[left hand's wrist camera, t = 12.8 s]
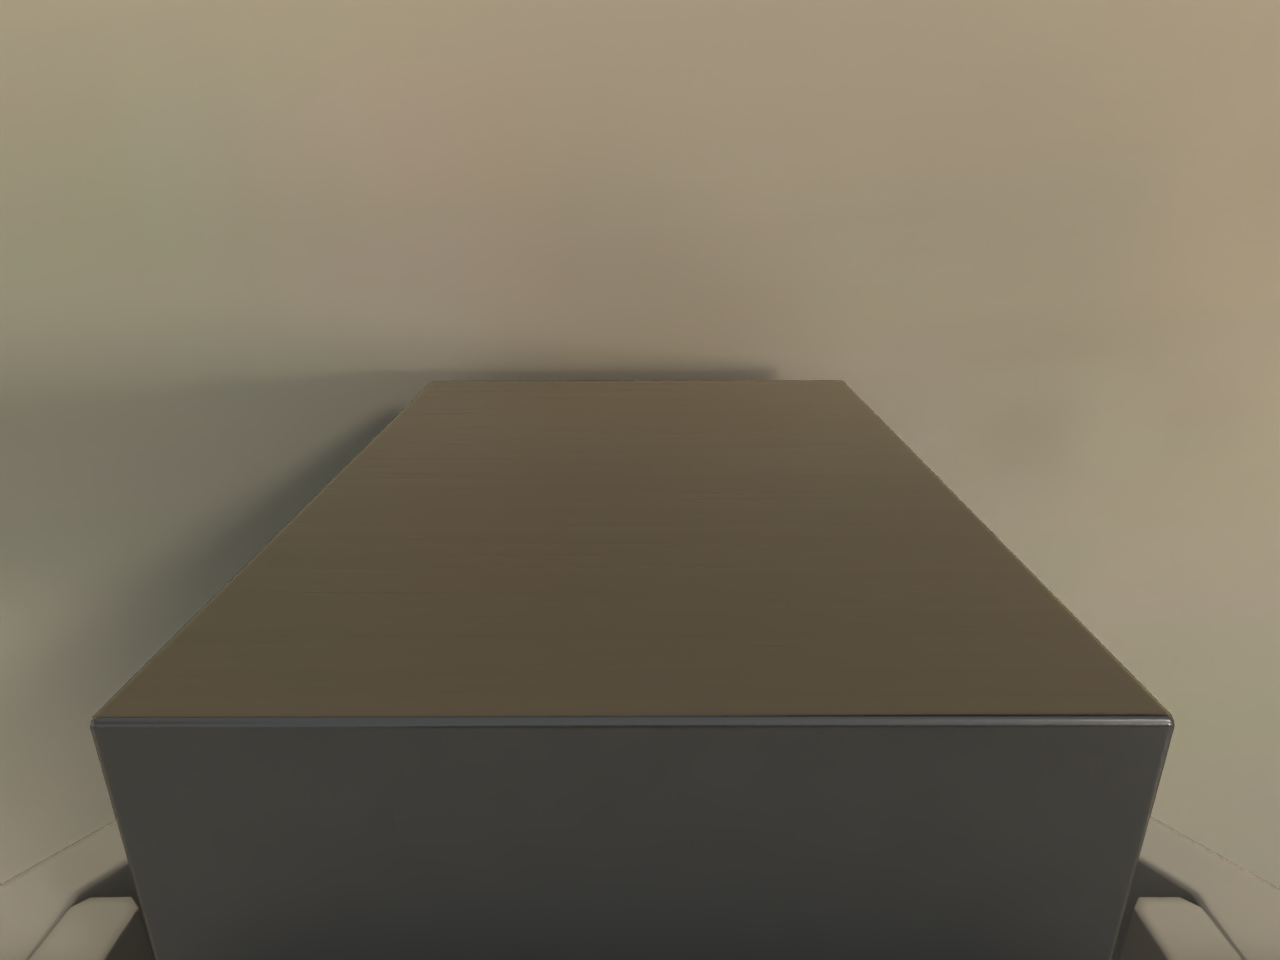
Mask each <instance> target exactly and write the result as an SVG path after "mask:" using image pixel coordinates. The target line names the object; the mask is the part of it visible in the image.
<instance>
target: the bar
mask: <svg viewBox="0 0 1280 960" xmlns="http://www.w3.org/2000/svg"><path fill="white" fill-rule="evenodd" d="M90 729H91V732H92V736H93V739H94V743H95V746H96V750H97V753H98V757H99V761H100V764H101V768H102V771H103V775H104V778H105V782H106V785H107V789H108V793H109V796H110V800H111V803H112V807H113V810H114V814H115V817H116V821H117V825H118V828H119V832H120V835H121V839H122V842H123V846H124V849H125V853H126V857H127V860H128V864H129V867H130V871H131V874H132V878H133V881H134V885H135V889H136V892H137V896H138V899H139V903H140V906H141V910H142V913H143V917H144V920H145V924H146V928H147V931H148V935H149V938H150V942H151V945H152V949H153V952H154V956H155V960H1112V957H1113V953H1114V949H1115V946H1116V942H1117V938H1118V934H1119V931H1120V927H1121V923H1122V920H1123V916H1124V912H1125V908H1126V905H1127V901H1128V897H1129V893H1130V890H1131V886H1132V882H1133V879H1134V875H1135V871H1136V867H1137V864H1138V860H1139V856H1140V852H1141V849H1142V845H1143V841H1144V838H1145V834H1146V830H1147V826H1148V823H1149V819H1150V815H1151V812H1152V808H1153V804H1154V800H1155V797H1156V793H1157V789H1158V785H1159V782H1160V778H1161V774H1162V771H1163V767H1164V763H1165V759H1166V756H1167V752H1168V748H1169V744H1170V741H1171V737H1172V733H1173V730H1174V720H1173V717H1172V715H1171V714H1170V713H1169V712H1168V711H1167V710H1166V709H1165V708H1164V707H1163V706H1162V705H1161V704H1160V703H1159V702H1158V701H1157V700H1156V698H1155V697H1154V696H1153V695H1152V694H1151V693H1150V692H1149V691H1148V690H1147V689H1146V688H1145V687H1144V686H1143V685H1142V684H1141V683H1140V682H1139V681H1138V680H1137V679H1136V678H1135V677H1134V676H1133V675H1132V674H1131V673H1130V672H1129V671H1128V670H1127V669H1126V668H1125V667H1124V666H1123V665H1122V664H1121V663H1120V662H1119V661H1118V660H1117V659H1116V658H1115V657H1114V656H1113V655H1112V654H1111V653H1110V652H1109V651H1108V650H1107V649H1106V648H1105V647H1104V646H1103V645H1102V644H1101V643H1100V642H1099V641H1098V639H1097V638H1096V637H1095V636H1094V635H1093V634H1092V633H1091V632H1090V631H1089V630H1088V629H1087V628H1086V627H1085V626H1084V625H1083V624H1082V623H1081V622H1080V621H1079V620H1078V619H1077V618H1076V617H1075V616H1074V615H1073V614H1072V613H1071V612H1070V611H1069V610H1068V609H1067V608H1066V607H1065V606H1064V605H1063V604H1062V603H1061V602H1060V601H1059V600H1058V599H1057V598H1056V597H1055V596H1054V595H1053V594H1052V593H1051V592H1050V591H1049V590H1048V589H1047V588H1046V587H1045V586H1044V585H1043V584H1042V583H1041V582H1040V580H1039V579H1038V578H1037V577H1036V576H1035V575H1034V574H1033V573H1032V572H1031V571H1030V570H1029V569H1028V568H1027V567H1026V566H1025V565H1024V564H1023V563H1022V562H1021V561H1020V560H1019V559H1018V558H1017V557H1016V556H1015V555H1014V554H1013V553H1012V552H1011V551H1010V550H1009V549H1008V548H1007V547H1006V546H1005V545H1004V544H1003V543H1002V542H1001V541H1000V540H999V539H998V538H997V537H996V536H995V535H994V534H993V533H992V532H991V531H990V530H989V529H988V528H987V527H986V526H985V525H984V524H983V523H982V521H981V520H980V519H979V518H978V517H977V516H976V515H975V514H974V513H973V512H972V511H971V510H970V509H969V508H968V507H967V506H966V505H965V504H964V503H963V502H962V501H961V500H960V499H959V498H958V497H957V496H956V495H955V494H954V493H953V492H952V491H951V490H950V489H949V488H948V487H947V486H946V485H945V484H944V483H943V482H942V481H941V480H940V479H939V478H938V477H937V476H936V475H935V474H934V473H933V472H932V471H931V470H930V469H929V468H928V467H927V466H926V465H925V464H924V462H923V461H922V460H921V459H920V458H919V457H918V456H917V455H916V454H915V453H914V452H913V451H912V450H911V449H910V448H909V447H908V446H907V445H906V444H905V443H904V442H903V441H902V440H901V439H900V438H899V437H898V436H897V435H896V434H895V433H894V432H893V431H892V430H891V429H890V428H889V427H888V426H887V425H886V424H885V423H884V422H883V421H882V420H881V419H880V418H879V417H878V416H877V415H876V414H875V413H874V412H873V411H872V410H871V409H870V408H869V407H868V406H867V405H866V404H865V402H864V401H863V400H862V399H861V398H860V397H859V396H858V395H857V394H856V393H855V392H854V391H853V390H852V389H851V388H850V387H849V386H848V385H847V384H846V383H845V382H844V381H841V380H776V381H433V382H430V383H429V384H428V385H427V386H426V387H425V388H424V389H423V390H422V391H421V392H420V393H419V394H418V395H417V396H416V397H415V398H414V399H413V400H412V401H411V402H410V403H409V404H408V405H407V406H406V407H405V408H404V409H403V410H402V411H401V412H400V413H399V414H398V415H397V416H396V417H395V418H394V419H393V420H392V421H391V422H390V423H389V424H388V425H387V426H386V427H385V428H384V429H383V430H382V431H381V432H380V433H379V434H378V435H377V436H376V437H375V438H374V439H373V440H372V441H371V442H370V443H369V444H368V445H367V446H366V447H365V448H364V449H363V450H362V451H361V452H360V453H359V454H358V455H357V456H356V457H355V458H354V459H353V460H352V461H351V462H350V463H349V464H348V465H347V466H346V467H345V468H344V469H343V470H342V471H340V472H339V473H338V474H337V475H336V476H335V477H334V478H333V479H332V480H331V481H330V482H329V483H328V484H327V485H326V486H325V487H324V488H323V489H322V490H321V491H320V492H319V493H318V494H317V495H316V496H315V497H314V498H313V499H312V500H311V501H310V502H309V503H308V504H307V505H306V506H305V507H304V508H303V509H302V510H301V511H300V512H299V513H298V514H297V515H296V516H295V517H294V518H293V519H292V520H291V521H290V522H289V523H288V524H287V525H286V526H285V527H284V528H283V529H282V530H281V531H280V532H279V533H278V534H277V535H276V536H275V537H274V538H273V539H272V540H271V541H270V542H269V543H268V544H267V545H266V546H265V547H264V548H263V549H262V550H261V551H260V552H259V553H258V554H257V555H256V556H255V557H254V558H253V559H252V560H251V561H250V562H249V563H248V564H247V565H246V566H245V567H244V568H243V569H242V570H240V571H239V572H238V573H237V574H236V575H235V576H234V577H233V578H232V579H231V580H230V581H229V582H228V583H227V584H226V585H225V586H224V587H223V588H222V589H221V590H220V591H219V592H218V593H217V594H216V595H215V596H214V597H213V598H212V599H211V600H210V601H209V602H208V603H207V604H206V605H205V606H204V607H203V608H202V609H201V610H200V611H199V612H198V613H197V614H196V615H195V616H194V617H193V618H192V619H191V620H190V621H189V622H188V623H187V624H186V625H185V626H184V627H183V628H182V629H181V630H180V631H179V632H178V633H177V634H176V635H175V636H174V637H173V638H172V639H171V640H170V641H169V642H168V643H167V644H166V645H165V646H164V647H163V648H162V649H161V650H160V651H159V652H158V653H157V654H156V655H155V656H154V657H153V658H152V659H151V660H150V661H149V662H148V663H147V664H146V665H145V666H144V667H143V668H141V669H140V670H139V671H138V672H137V673H136V674H135V675H134V676H133V677H132V678H131V679H130V680H129V681H128V682H127V683H126V684H125V685H124V686H123V687H122V688H121V689H120V690H119V691H118V692H117V693H116V694H115V695H114V696H113V697H112V698H111V699H110V700H109V701H108V702H107V703H106V704H105V705H104V706H103V707H102V708H101V709H100V710H99V711H98V712H97V713H96V714H95V715H94V716H93V718H92V720H91V726H90Z"/></svg>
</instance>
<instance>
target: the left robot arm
mask: <svg viewBox="0 0 1280 960" xmlns="http://www.w3.org/2000/svg"><path fill="white" fill-rule="evenodd" d="M0 960H155V956H154V952H153V949H152V945H151V942H150V938H149V935H148V931H147V928H146V924H145V920H144V917H143V913H142V910H141V906H140V903H139V899H138V896H137V892H136V889H135V885H134V881H133V878H132V874H131V871H130V867H129V864H128V860H127V857H126V853H125V849H124V846H123V842H122V839H121V835H120V832H119V828H118V825H117V821H116V820H115V821H113V822H112V823H110V824H108V825H106V826H105V827H103V828H101V829H99V830H97V831H96V832H94V833H92V834H90V835H88V836H87V837H85V838H83V839H81V840H79V841H78V842H76V843H74V844H72V845H71V846H69V847H67V848H65V849H63V850H62V851H60V852H58V853H56V854H54V855H53V856H51V857H49V858H47V859H46V860H44V861H42V862H40V863H38V864H37V865H35V866H33V867H31V868H29V869H28V870H26V871H24V872H22V873H20V874H19V875H17V876H15V877H13V878H12V879H10V880H8V881H6V882H4V883H3V884H1V885H0ZM1112 960H1280V889H1278V888H1276V887H1274V886H1272V885H1271V884H1269V883H1267V882H1265V881H1264V880H1262V879H1260V878H1258V877H1257V876H1255V875H1253V874H1251V873H1249V872H1248V871H1246V870H1244V869H1242V868H1241V867H1239V866H1237V865H1235V864H1234V863H1232V862H1230V861H1228V860H1226V859H1225V858H1223V857H1221V856H1219V855H1218V854H1216V853H1214V852H1212V851H1210V850H1209V849H1207V848H1205V847H1203V846H1202V845H1200V844H1198V843H1196V842H1195V841H1193V840H1191V839H1189V838H1187V837H1186V836H1184V835H1182V834H1180V833H1179V832H1177V831H1175V830H1173V829H1172V828H1170V827H1168V826H1166V825H1164V824H1163V823H1161V822H1159V821H1157V820H1156V819H1154V818H1152V817H1150V819H1149V823H1148V826H1147V830H1146V834H1145V838H1144V841H1143V845H1142V849H1141V852H1140V856H1139V860H1138V864H1137V867H1136V871H1135V875H1134V879H1133V882H1132V886H1131V890H1130V893H1129V897H1128V901H1127V905H1126V908H1125V912H1124V916H1123V920H1122V923H1121V927H1120V931H1119V934H1118V938H1117V942H1116V946H1115V949H1114V953H1113V957H1112Z"/></svg>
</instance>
